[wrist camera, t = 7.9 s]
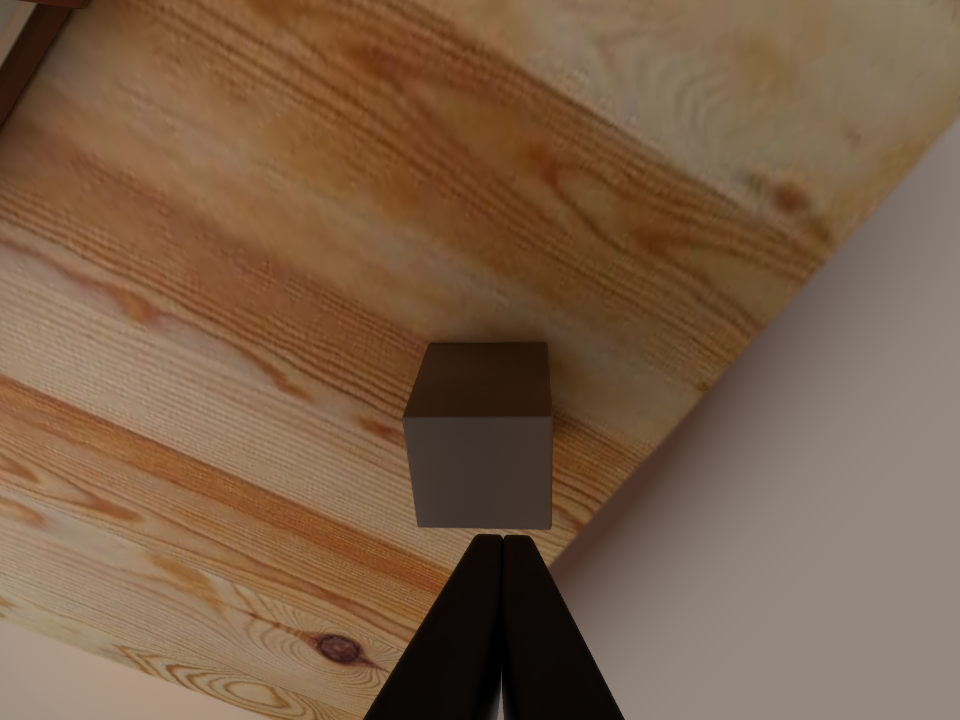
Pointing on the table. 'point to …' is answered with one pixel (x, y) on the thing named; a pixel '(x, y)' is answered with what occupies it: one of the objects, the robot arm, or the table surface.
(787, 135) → the table surface
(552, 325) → the table surface
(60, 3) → the book
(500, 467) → the block
